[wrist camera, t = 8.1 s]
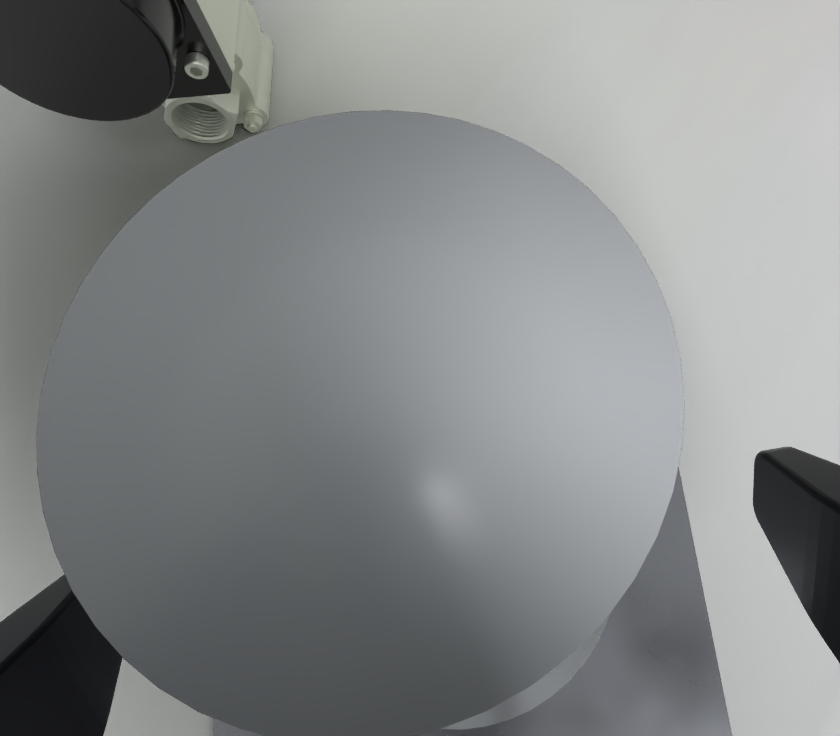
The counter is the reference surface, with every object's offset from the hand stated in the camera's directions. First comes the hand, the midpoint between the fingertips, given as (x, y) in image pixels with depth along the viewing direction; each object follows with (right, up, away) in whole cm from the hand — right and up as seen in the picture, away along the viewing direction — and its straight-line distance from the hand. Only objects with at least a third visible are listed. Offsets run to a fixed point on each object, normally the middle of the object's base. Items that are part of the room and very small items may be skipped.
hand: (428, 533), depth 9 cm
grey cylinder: (+1, -2, +8) cm, 8 cm away
